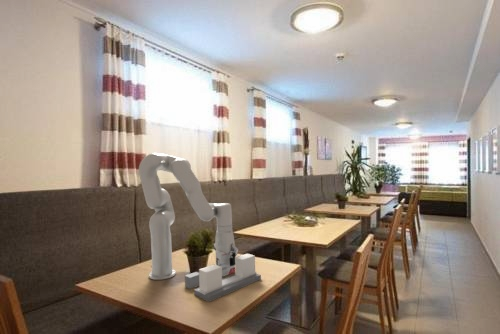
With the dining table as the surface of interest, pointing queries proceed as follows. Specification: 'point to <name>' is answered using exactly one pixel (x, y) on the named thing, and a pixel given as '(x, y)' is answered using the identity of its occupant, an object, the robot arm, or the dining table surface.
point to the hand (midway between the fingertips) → (226, 263)
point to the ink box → (224, 263)
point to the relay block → (192, 280)
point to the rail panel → (217, 287)
